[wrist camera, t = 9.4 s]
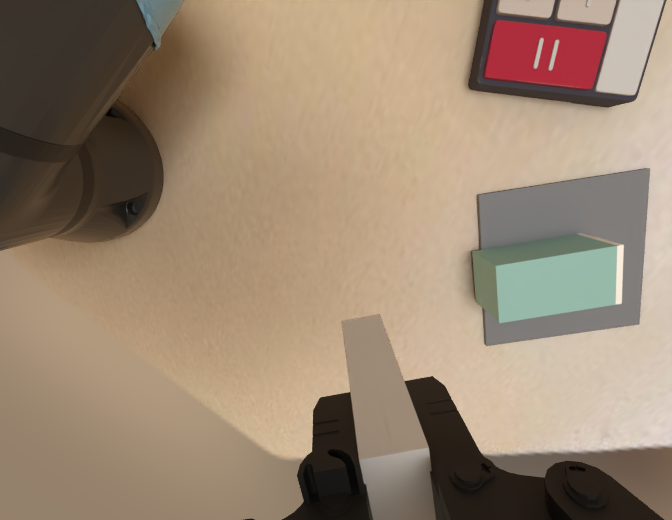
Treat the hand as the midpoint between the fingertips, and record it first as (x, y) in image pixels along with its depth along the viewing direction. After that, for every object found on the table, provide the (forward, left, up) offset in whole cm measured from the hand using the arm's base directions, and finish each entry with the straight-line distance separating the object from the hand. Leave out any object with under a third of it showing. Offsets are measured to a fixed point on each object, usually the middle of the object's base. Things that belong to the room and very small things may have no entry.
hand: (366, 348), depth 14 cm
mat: (+7, +24, -27) cm, 36 cm away
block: (+7, +14, -23) cm, 28 cm away
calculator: (-16, +23, -27) cm, 39 cm away
